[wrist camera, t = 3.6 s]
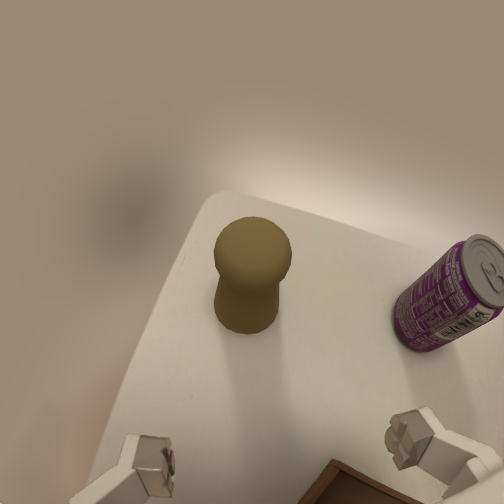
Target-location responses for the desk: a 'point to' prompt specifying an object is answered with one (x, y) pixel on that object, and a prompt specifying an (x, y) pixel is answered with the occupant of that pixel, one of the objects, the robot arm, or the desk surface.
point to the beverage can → (453, 295)
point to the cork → (250, 273)
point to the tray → (350, 488)
